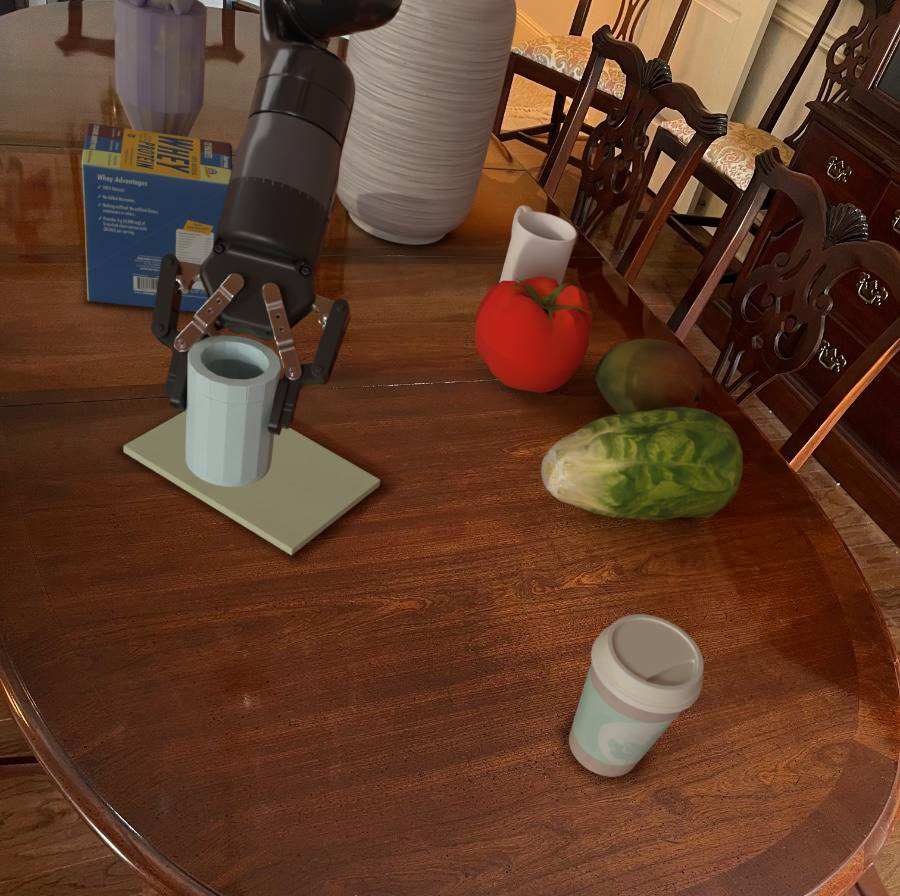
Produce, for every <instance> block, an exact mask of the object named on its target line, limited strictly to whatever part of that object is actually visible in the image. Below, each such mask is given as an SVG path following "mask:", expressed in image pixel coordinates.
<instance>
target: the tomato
mask: <svg viewBox="0 0 900 896" xmlns="http://www.w3.org/2000/svg"><path fill="white" fill-rule="evenodd" d="M516 280H518V279H516ZM518 281H520V282H519V283H517V282H516V281H501V282H500V281H499V282H500V283H496V284H495V285H494V286H493V287H491V288H490V289H489V290H488V292H486V294H485V295H484V297H483V298H482V300H481V301H480V304H479V307H478V310H477V313H476V316H475V327H474V329H475V330H474V331H475V332H474V343H475V347H476V352H477V354H478V356H479V358H480V359H481V361H482V362H483V363H484V364H485V365H487V367H488V369H489V371H490V374H492V375H493V376H494V378H496V379H497V380H498V381H499V382H500V383H501V384H502V385H504V386H505V387H508V388H510V389H511V388H512V389H513V390H518V391H526V392H531V393H535V394H544V393H549V392H553V391H555V390H558V389H560V388H561V387H562V386H563V385H566V383H568V382H569V381H570V380H571V378H572V377H573V376H574V375H575V374H576V372H577V371H578V369H579V367H580V365H582V362H583V361H584V359H585V357H586V354H587V351H588V347H589V344H590V333H591V330H592V324H593V323H592V321H593V312H592V310H591V307H590V303H589V300H588V297H587V294H586V293H585V292H584V291H583V289H581V288H580V287H579V286H576V285H573V284H572V285H570V282H567V283H562V284H561V285H560V286H559V284H558V283H557V281H556V279H552V278H546V277H541V276H540V277H534V278H528V279H525V280H523V281H521V280H518Z"/></svg>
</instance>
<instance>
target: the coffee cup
mask: <svg viewBox="0 0 900 896" xmlns="http://www.w3.org/2000/svg"><path fill="white" fill-rule="evenodd" d="M590 658H591V659H590V660H591V662H590V665H589V669H588V671H587V675H586V678H585V682H584V685H583V687H582V691H581V695H580V698H579V701H578V705H577V708H576V711H575V715H574V718H573V722H572V725H571V728H570V731H569V736H568V745H569V748H570V751H571V753H572V755H573V756H574V758H575V759H576V761H577V762H579V764H581V765H582V766H583V767H584V768H585V769H586V770H589V772H591V773H594V774H596V775H599V776H603V777H608V778H609V777H610V778H615V777H621V776H624V775H626V774H628V773H629V772H631V771H632V770H633V769H634V768H635V767H636V765H638V763H639V762H640V761H641V760H642V758H643V757H644V756H646V754H647V753H648V752H649V750H651V748H652V747H653V746H654V745H655V743H656V742H657V741H658V740H659V739H660V737H661V736H662V735H663V734H664V733H665V731H666V730H668V728H669V727H670V725H672V723H673V722H674V721H675V720H676V719H677V717H678V716H679V715H680V714H681V713H682V711H685V710H687V709H689V708H690V707H691V706H693V705H694V703H695V702H697V700H698V698H699V697H700V694H701V690H702V688H703V684H704V669H705V661H704V657H703V654H702V652H701V649H700V648H699V646H698V645H697V643H696V642H695V641H694V639H693V638H692V637H691V636H690V635H689V634H688V633H687V632H686V631H685V630H684V629H682V628H681V627H680V626H679V625H676V624H675V623H673V622H671V621H669V620H666V619H664V618H662V617H660V616H655V615H651V614H644V613H643V614H642V613H634V614H628V615H624V616H622V617H620V618H618V619H616V620H614V622H612V623H611V624H610V625H608V626H607V627H606V628H604V629H603V630H602V631H601V632H600V634H599V635H598V636H597V637H596V638H595V640H594V641H593V643H592V646H591V652H590Z"/></svg>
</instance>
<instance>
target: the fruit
mask: <svg viewBox="0 0 900 896" xmlns="http://www.w3.org/2000/svg"><path fill="white" fill-rule="evenodd" d="M594 370H595V371H594V378H595V383H596V385H597V388H598V390H599V392H600V394H601V395H602V397H603V399H604V400H605V402H606V403H607V404H608V405H609V407H610V408H611V409H612V410H613V411H614V412H615V414H620V413H628V412H641V411H651V410H656V409H662V408H673V407H688V408H695V409H696V408H697V405H698V403H699V402H700V400H701V394H702V390H703V371H702V368H701V366H700V364H699V362H698V360H697V359H696V358H695V356H694V355H693V354H691V353H690V352H689V350H687V349H686V348H684V347H682V346H680V345H678V344H675V343H673V342H669V341H666V340H661V339H654V338H638V339H632V340H628V341H624V342H622V343H619V344H616V345H615V346H613V347H612V348H610V349H609V350H608V351H607V352H605V353H604V354H603V356H602V357H601V359H600V360H599V361H598V363H597V366H596V367H595V369H594Z"/></svg>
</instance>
